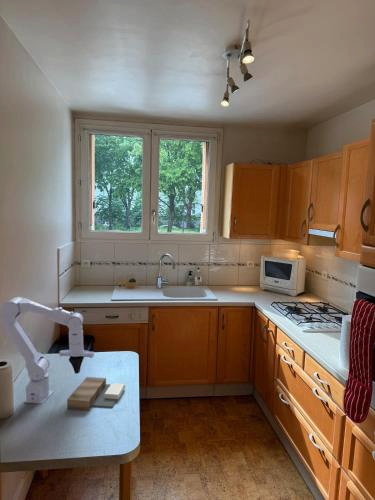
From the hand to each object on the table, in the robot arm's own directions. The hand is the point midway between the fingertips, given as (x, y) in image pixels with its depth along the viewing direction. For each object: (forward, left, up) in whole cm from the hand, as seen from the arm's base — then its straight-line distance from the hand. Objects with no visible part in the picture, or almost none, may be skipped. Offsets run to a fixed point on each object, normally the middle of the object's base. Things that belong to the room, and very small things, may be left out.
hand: (77, 372), depth 147 cm
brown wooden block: (-2, -6, -9) cm, 11 cm away
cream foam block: (+1, -16, -8) cm, 18 cm away
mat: (0, -14, -9) cm, 17 cm away
